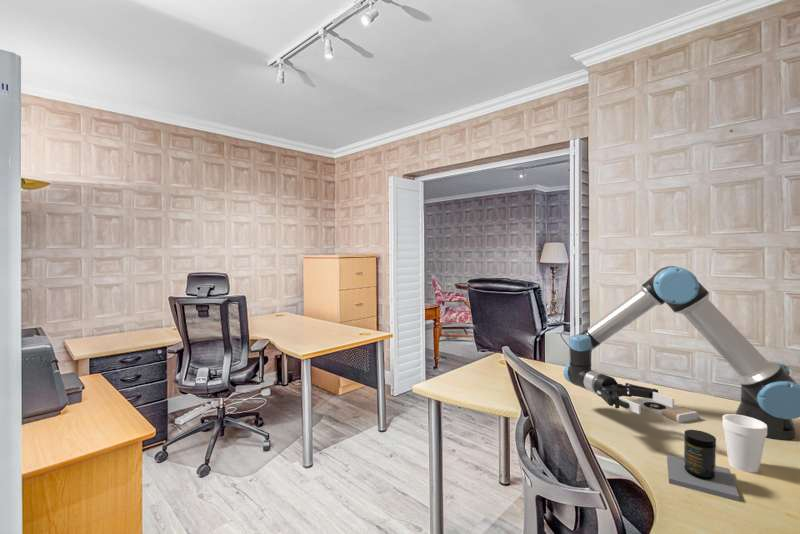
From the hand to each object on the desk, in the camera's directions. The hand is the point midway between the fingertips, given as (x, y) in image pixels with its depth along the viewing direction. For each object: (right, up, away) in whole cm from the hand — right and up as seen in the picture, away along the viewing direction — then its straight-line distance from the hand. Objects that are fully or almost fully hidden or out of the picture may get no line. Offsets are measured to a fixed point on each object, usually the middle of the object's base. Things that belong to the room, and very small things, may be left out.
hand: (656, 406), depth 116 cm
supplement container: (+2, -13, -14) cm, 19 cm away
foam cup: (+19, -14, -9) cm, 25 cm away
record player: (+22, -13, +30) cm, 39 cm away
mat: (+2, -14, -14) cm, 20 cm away
